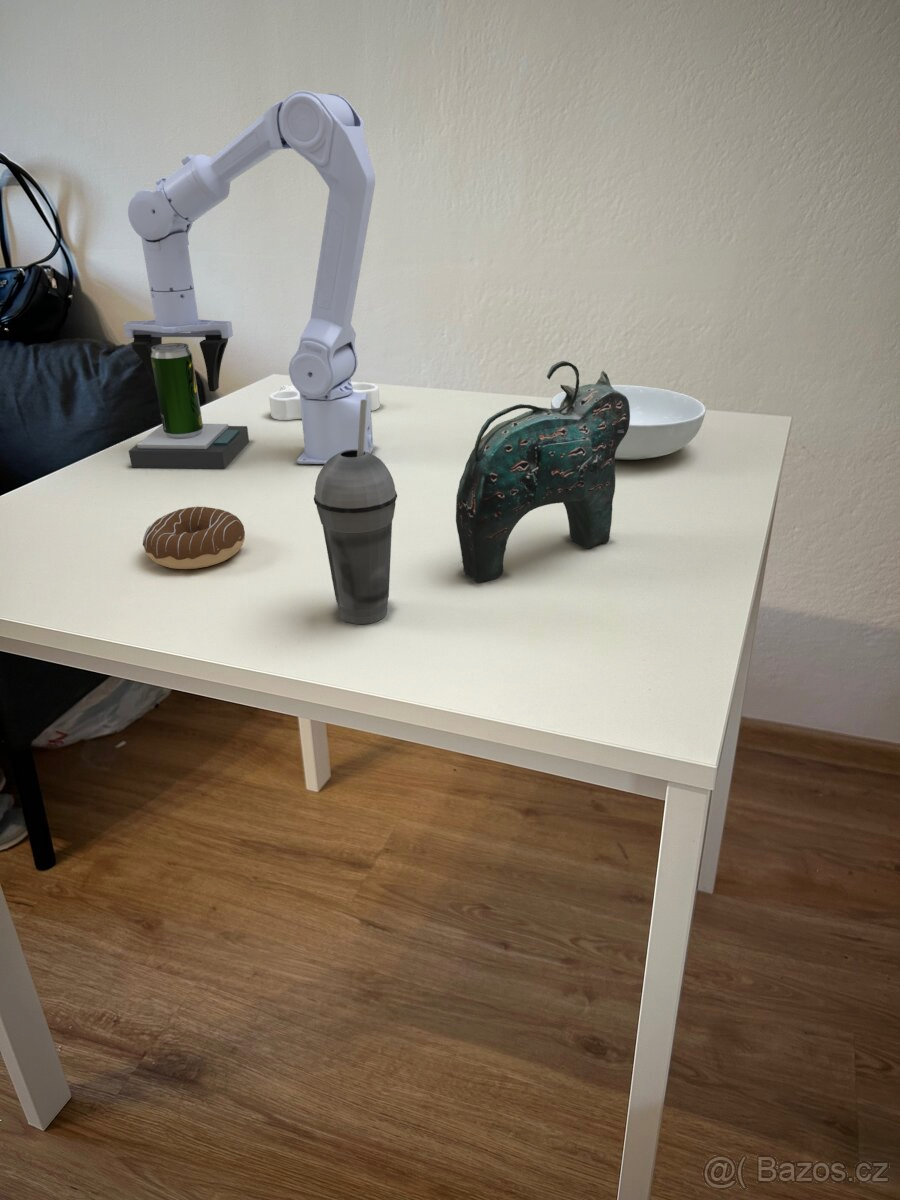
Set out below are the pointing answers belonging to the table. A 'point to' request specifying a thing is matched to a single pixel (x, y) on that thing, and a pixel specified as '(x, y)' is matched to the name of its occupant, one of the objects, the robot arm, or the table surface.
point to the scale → (191, 448)
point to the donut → (194, 538)
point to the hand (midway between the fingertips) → (187, 389)
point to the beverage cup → (357, 529)
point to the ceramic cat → (542, 472)
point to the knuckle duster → (289, 405)
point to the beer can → (176, 390)
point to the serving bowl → (655, 421)
